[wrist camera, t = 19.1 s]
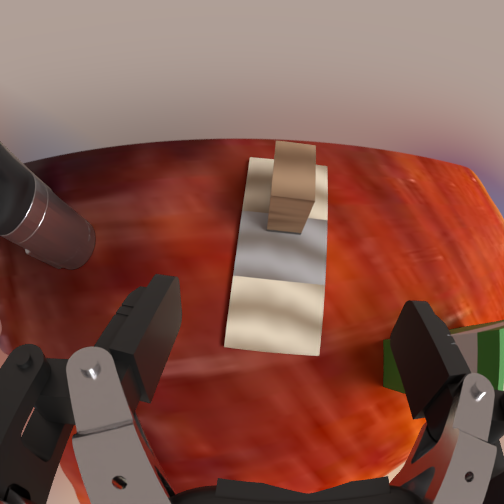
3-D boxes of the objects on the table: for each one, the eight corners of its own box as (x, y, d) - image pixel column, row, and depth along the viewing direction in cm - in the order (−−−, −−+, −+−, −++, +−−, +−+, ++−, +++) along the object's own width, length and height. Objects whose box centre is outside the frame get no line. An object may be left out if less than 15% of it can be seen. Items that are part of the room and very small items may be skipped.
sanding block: (300, 235, 42) (315, 200, 31) (266, 231, 42) (270, 195, 31) (302, 188, 44) (315, 145, 33) (271, 184, 44) (276, 140, 34)
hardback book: (464, 326, 38) (570, 303, 15) (465, 367, 36) (570, 364, 13) (383, 339, 38) (499, 329, 15) (383, 386, 36) (494, 415, 13)
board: (317, 355, 38) (319, 355, 36) (224, 346, 38) (223, 346, 37) (325, 170, 46) (327, 166, 45) (250, 161, 47) (250, 157, 46)
